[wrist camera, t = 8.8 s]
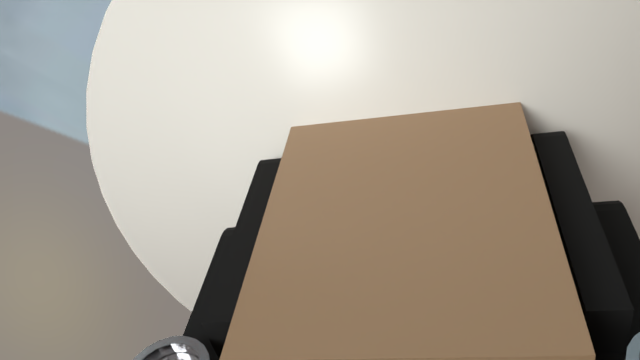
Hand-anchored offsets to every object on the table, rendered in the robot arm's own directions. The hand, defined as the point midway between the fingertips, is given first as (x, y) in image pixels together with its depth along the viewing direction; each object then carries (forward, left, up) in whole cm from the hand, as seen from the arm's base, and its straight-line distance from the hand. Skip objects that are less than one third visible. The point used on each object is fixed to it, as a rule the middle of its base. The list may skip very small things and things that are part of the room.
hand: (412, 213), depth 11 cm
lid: (0, 0, -1) cm, 1 cm away
